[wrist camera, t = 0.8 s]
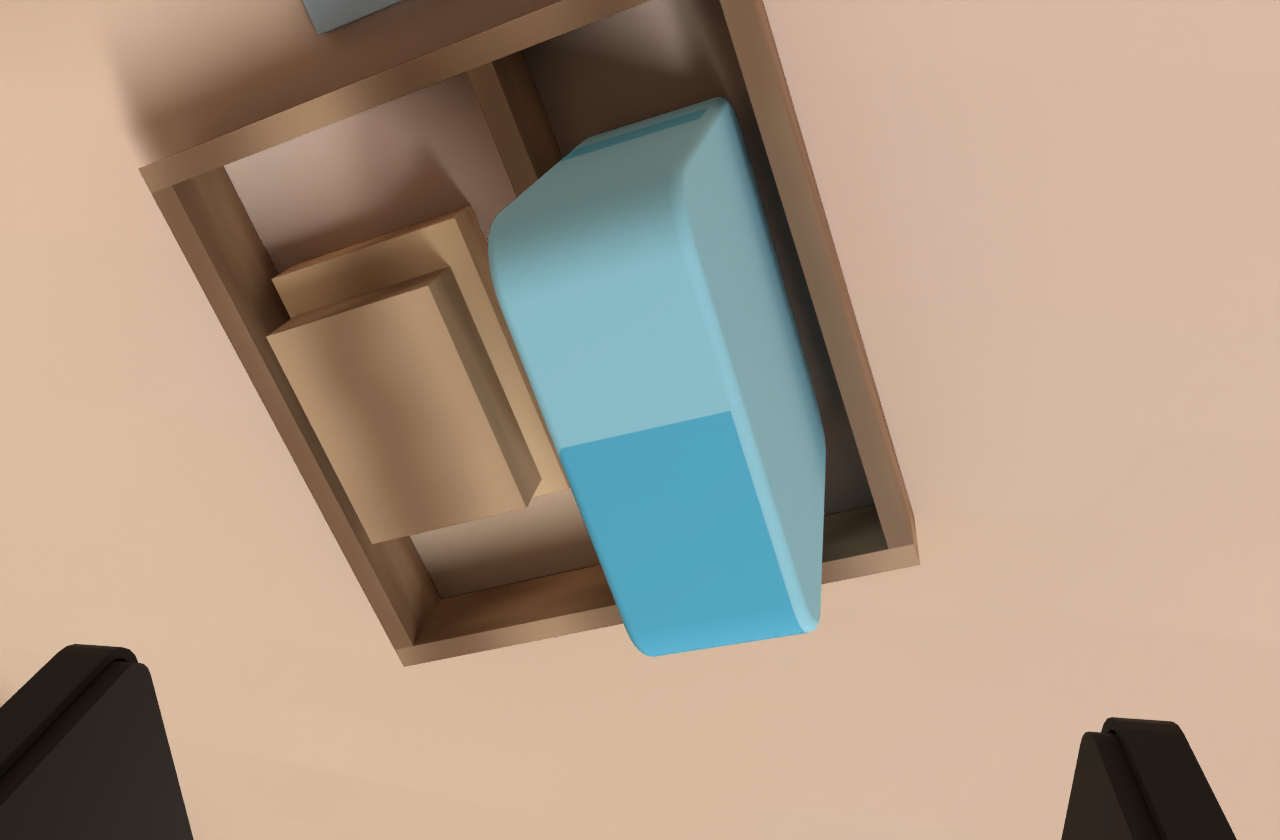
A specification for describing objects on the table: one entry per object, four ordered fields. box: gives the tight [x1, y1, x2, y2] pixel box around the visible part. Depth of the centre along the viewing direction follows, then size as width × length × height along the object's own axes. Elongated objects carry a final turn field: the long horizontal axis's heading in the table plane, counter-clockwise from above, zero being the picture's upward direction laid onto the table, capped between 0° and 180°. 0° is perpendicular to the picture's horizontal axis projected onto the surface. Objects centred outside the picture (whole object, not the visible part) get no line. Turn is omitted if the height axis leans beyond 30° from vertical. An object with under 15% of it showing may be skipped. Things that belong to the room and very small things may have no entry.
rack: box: [139, 0, 920, 667], centre depth 34 cm, size 19×20×3 cm
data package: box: [488, 97, 826, 657], centre depth 29 cm, size 12×4×12 cm, turn 18°
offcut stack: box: [266, 205, 570, 544], centre depth 35 cm, size 7×10×4 cm
